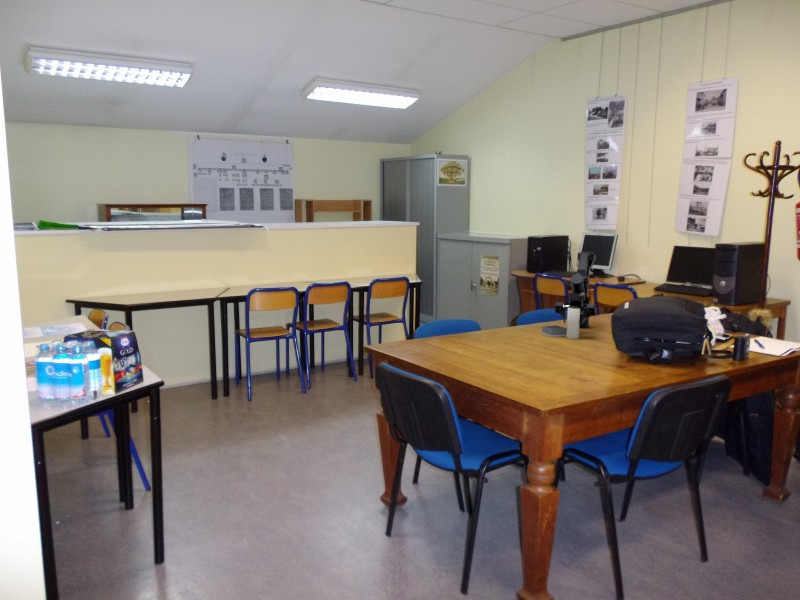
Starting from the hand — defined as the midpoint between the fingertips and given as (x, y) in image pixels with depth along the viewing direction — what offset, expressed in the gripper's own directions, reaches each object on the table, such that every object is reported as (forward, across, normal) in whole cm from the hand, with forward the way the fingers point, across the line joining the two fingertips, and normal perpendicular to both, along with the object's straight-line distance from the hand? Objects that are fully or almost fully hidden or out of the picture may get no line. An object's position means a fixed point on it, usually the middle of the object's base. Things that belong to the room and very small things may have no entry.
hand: (572, 323), depth 307 cm
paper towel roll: (+4, 0, +6) cm, 7 cm away
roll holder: (+1, -9, +9) cm, 13 cm away
